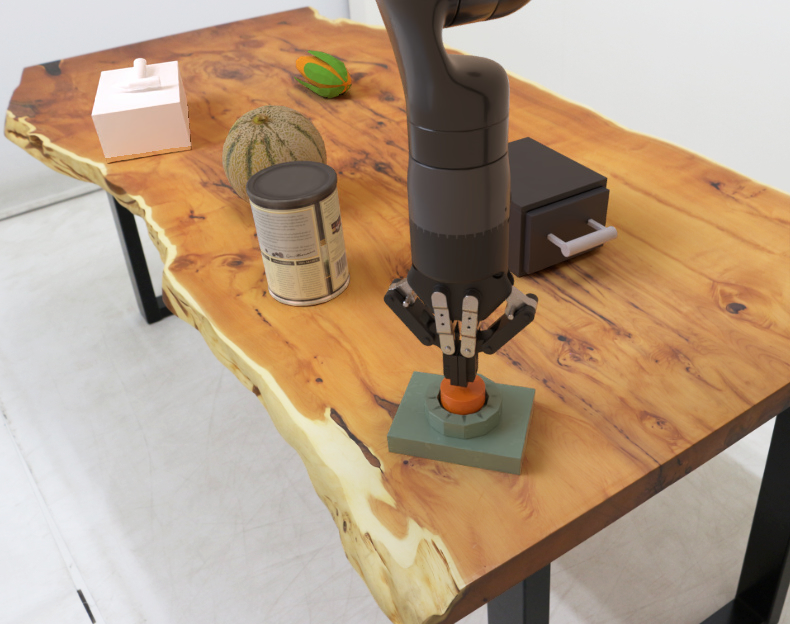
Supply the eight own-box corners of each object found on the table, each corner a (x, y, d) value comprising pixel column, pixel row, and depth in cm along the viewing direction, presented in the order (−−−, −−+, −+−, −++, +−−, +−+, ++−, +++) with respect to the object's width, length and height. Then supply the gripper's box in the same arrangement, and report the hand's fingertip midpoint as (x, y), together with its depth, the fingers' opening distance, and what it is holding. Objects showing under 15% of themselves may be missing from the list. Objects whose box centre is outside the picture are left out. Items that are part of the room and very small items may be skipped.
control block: (534, 405, 69) (536, 373, 66) (520, 476, 62) (521, 444, 59) (414, 386, 72) (412, 356, 69) (388, 452, 65) (384, 421, 63)
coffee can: (268, 266, 92) (247, 165, 84) (347, 256, 93) (334, 155, 85) (266, 312, 84) (243, 205, 76) (353, 301, 85) (339, 194, 76)
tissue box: (107, 163, 123) (86, 101, 117) (114, 114, 143) (97, 59, 136) (191, 149, 125) (176, 88, 119) (187, 103, 145) (174, 48, 139)
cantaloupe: (319, 174, 114) (306, 81, 105) (343, 215, 102) (330, 113, 93) (227, 193, 110) (205, 98, 101) (241, 237, 99) (217, 134, 90)
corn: (326, 66, 133) (278, 44, 147) (328, 106, 138) (281, 82, 151) (359, 60, 137) (309, 39, 150) (361, 99, 141) (312, 76, 155)
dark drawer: (627, 261, 86) (636, 203, 81) (551, 291, 82) (555, 232, 77) (532, 201, 100) (534, 149, 95) (463, 225, 96) (462, 171, 91)
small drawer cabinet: (599, 246, 91) (607, 177, 85) (518, 277, 86) (521, 207, 81) (525, 200, 102) (528, 136, 96) (450, 225, 98) (448, 160, 92)
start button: (488, 388, 66) (489, 374, 65) (480, 418, 63) (480, 404, 62) (446, 382, 67) (446, 368, 66) (436, 411, 64) (435, 397, 63)
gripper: (358, 223, 52) (377, 397, 62) (542, 239, 48) (530, 422, 58) (388, 177, 57) (401, 344, 68) (555, 189, 54) (542, 363, 64)
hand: (461, 380), depth 63 cm, fingers closed
